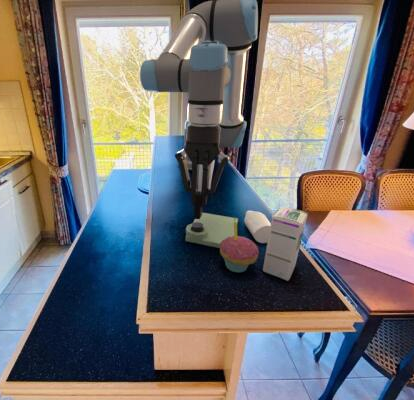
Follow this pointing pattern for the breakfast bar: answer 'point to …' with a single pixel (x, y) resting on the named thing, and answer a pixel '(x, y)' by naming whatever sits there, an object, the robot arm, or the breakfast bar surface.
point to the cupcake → (238, 251)
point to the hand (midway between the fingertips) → (198, 216)
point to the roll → (258, 225)
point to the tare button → (197, 227)
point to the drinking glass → (202, 174)
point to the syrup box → (284, 242)
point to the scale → (211, 230)
